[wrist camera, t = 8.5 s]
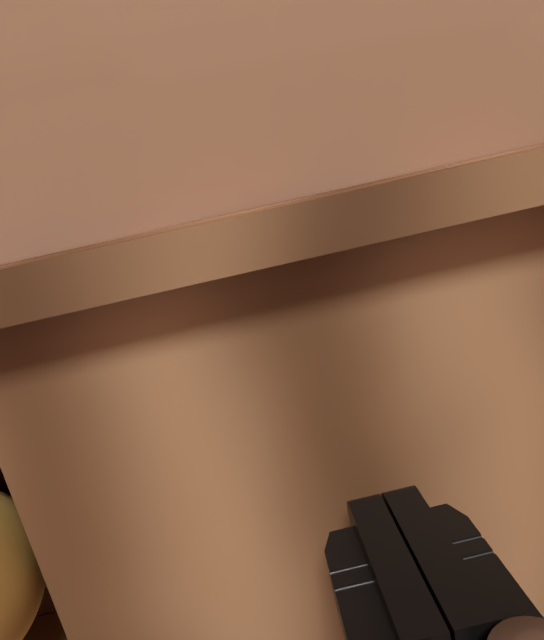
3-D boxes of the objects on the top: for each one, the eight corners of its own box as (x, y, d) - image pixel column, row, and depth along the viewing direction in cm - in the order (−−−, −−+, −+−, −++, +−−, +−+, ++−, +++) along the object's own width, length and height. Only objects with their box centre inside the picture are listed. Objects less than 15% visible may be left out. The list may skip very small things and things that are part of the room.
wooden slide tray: (583, 134, 13) (743, 103, 9) (609, 572, 16) (733, 694, 12) (-416, 358, 12) (-736, 434, 8) (-175, 769, 16) (-318, 968, 12)
